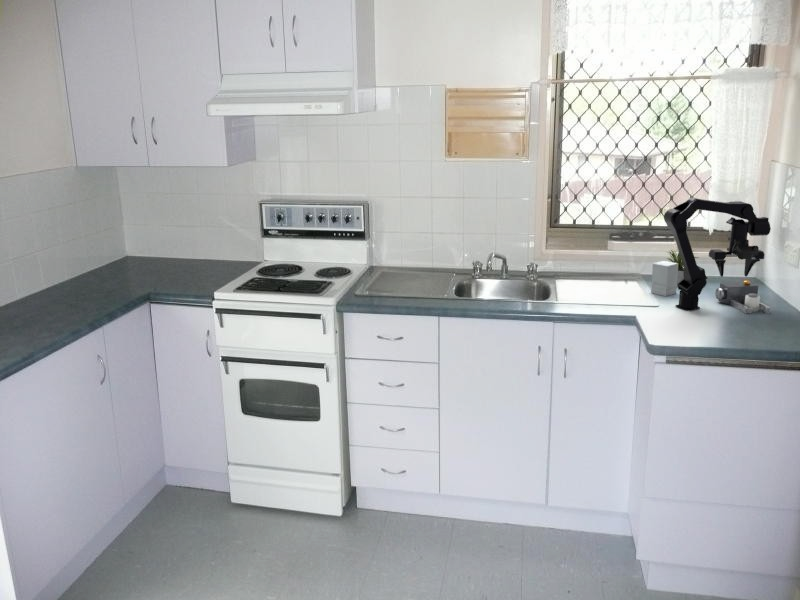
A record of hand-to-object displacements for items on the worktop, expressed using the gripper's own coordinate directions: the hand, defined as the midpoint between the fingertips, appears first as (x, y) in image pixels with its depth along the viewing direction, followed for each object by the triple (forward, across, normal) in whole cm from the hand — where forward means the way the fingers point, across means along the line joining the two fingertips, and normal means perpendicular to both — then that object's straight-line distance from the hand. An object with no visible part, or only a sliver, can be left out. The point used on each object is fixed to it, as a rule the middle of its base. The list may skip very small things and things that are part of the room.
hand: (733, 276), depth 270 cm
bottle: (+12, +6, -5) cm, 14 cm away
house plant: (+12, -7, +34) cm, 37 cm away
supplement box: (+12, -18, +21) cm, 30 cm away
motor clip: (+12, +5, -1) cm, 13 cm away
